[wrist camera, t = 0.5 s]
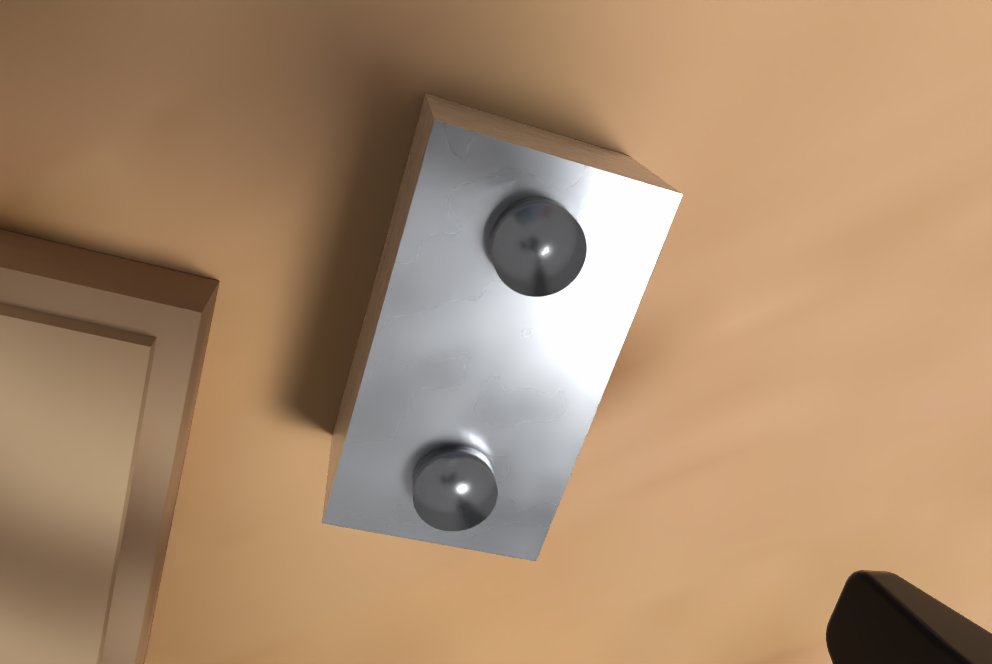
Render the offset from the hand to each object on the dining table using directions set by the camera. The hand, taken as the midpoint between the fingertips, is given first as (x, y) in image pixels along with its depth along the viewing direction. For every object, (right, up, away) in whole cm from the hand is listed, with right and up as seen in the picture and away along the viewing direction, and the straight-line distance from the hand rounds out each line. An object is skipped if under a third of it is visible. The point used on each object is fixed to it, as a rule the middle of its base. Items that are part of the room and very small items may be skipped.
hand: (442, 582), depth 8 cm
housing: (0, +3, +12) cm, 13 cm away
